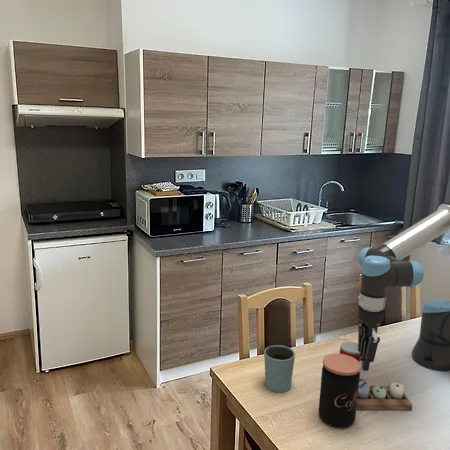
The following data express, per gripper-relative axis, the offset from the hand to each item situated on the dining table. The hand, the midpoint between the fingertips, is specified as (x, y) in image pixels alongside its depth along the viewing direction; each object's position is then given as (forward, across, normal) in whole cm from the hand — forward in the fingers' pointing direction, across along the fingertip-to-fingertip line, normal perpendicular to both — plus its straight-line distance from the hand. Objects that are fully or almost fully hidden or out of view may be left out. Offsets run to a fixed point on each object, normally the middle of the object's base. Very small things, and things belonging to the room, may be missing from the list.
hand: (362, 377), depth 138 cm
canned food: (+8, -14, +1) cm, 16 cm away
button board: (+8, 0, +6) cm, 10 cm away
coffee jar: (+8, +8, -10) cm, 15 cm away
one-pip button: (+6, 0, +11) cm, 13 cm away
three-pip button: (+6, 0, 0) cm, 6 cm away
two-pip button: (+7, 0, +6) cm, 9 cm away
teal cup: (+9, -8, -25) cm, 28 cm away
